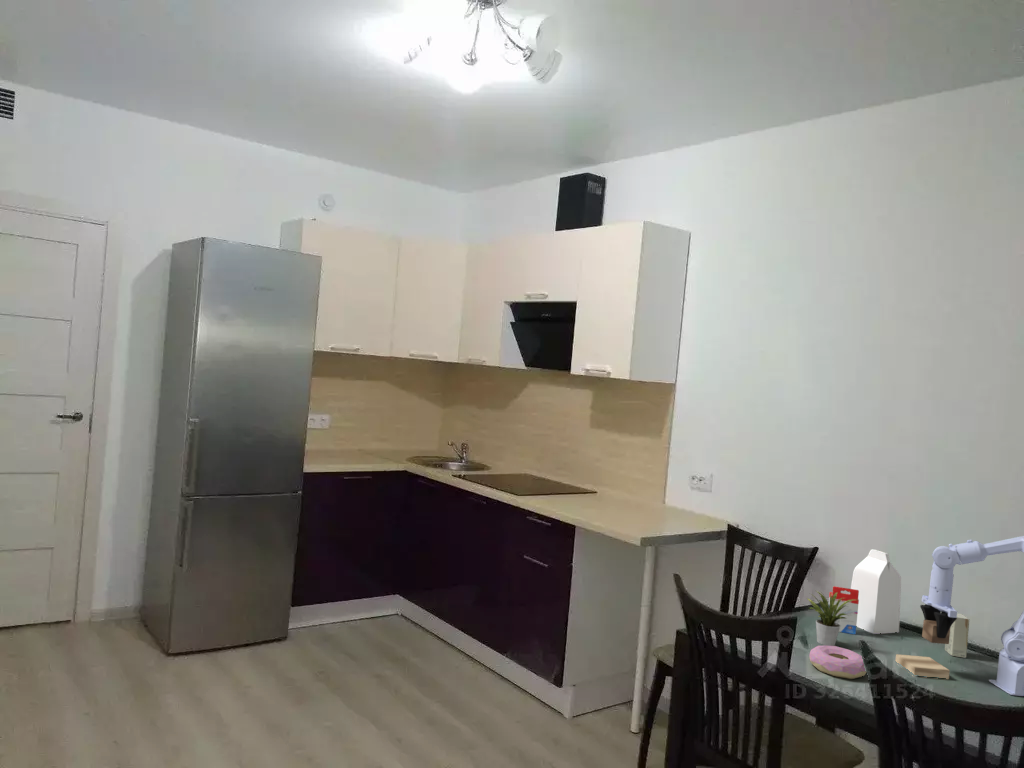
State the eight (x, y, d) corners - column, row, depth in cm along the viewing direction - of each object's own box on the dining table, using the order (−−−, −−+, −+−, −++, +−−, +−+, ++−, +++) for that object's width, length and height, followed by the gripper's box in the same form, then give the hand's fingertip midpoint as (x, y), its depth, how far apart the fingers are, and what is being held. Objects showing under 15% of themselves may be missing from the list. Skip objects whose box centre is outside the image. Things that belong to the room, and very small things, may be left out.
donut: (877, 675, 212) (879, 658, 212) (850, 685, 203) (852, 667, 203) (825, 656, 224) (826, 639, 224) (797, 665, 215) (799, 647, 215)
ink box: (853, 630, 252) (857, 586, 252) (855, 635, 247) (860, 590, 247) (825, 625, 254) (830, 582, 254) (827, 630, 250) (832, 586, 249)
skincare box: (966, 658, 234) (970, 619, 234) (951, 656, 235) (955, 617, 235) (958, 651, 240) (962, 613, 240) (943, 649, 241) (947, 611, 241)
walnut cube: (948, 644, 218) (950, 627, 218) (931, 642, 218) (933, 625, 218) (938, 638, 223) (940, 621, 223) (922, 636, 223) (923, 619, 223)
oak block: (948, 680, 214) (949, 670, 214) (913, 677, 214) (914, 667, 214) (928, 667, 224) (929, 657, 224) (895, 664, 224) (896, 654, 224)
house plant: (843, 637, 243) (849, 587, 243) (861, 653, 229) (867, 599, 229) (798, 632, 244) (804, 582, 244) (813, 648, 230) (819, 594, 230)
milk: (845, 621, 261) (852, 546, 261) (869, 620, 266) (877, 546, 266) (873, 633, 250) (881, 555, 250) (898, 632, 255) (906, 555, 254)
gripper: (913, 579, 227) (908, 624, 228) (941, 594, 213) (936, 641, 213) (937, 582, 228) (932, 626, 228) (966, 596, 213) (961, 644, 213)
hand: (935, 634), depth 220 cm, fingers closed on walnut cube, 5 cm apart
